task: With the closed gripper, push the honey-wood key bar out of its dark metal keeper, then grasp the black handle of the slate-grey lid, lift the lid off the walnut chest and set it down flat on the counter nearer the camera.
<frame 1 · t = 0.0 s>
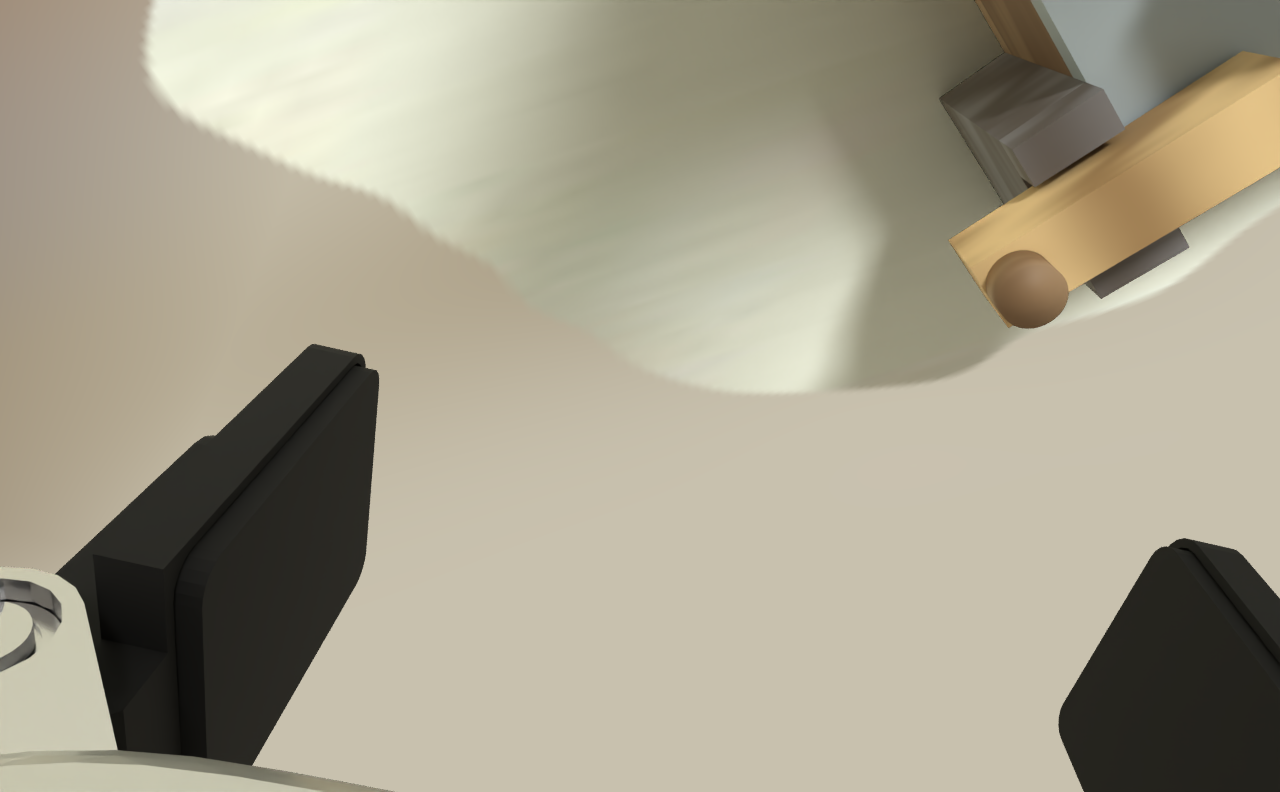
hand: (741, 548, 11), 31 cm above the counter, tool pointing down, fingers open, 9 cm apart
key: (1132, 199, 27), point 12 cm above the counter, slide at 0.0 cm
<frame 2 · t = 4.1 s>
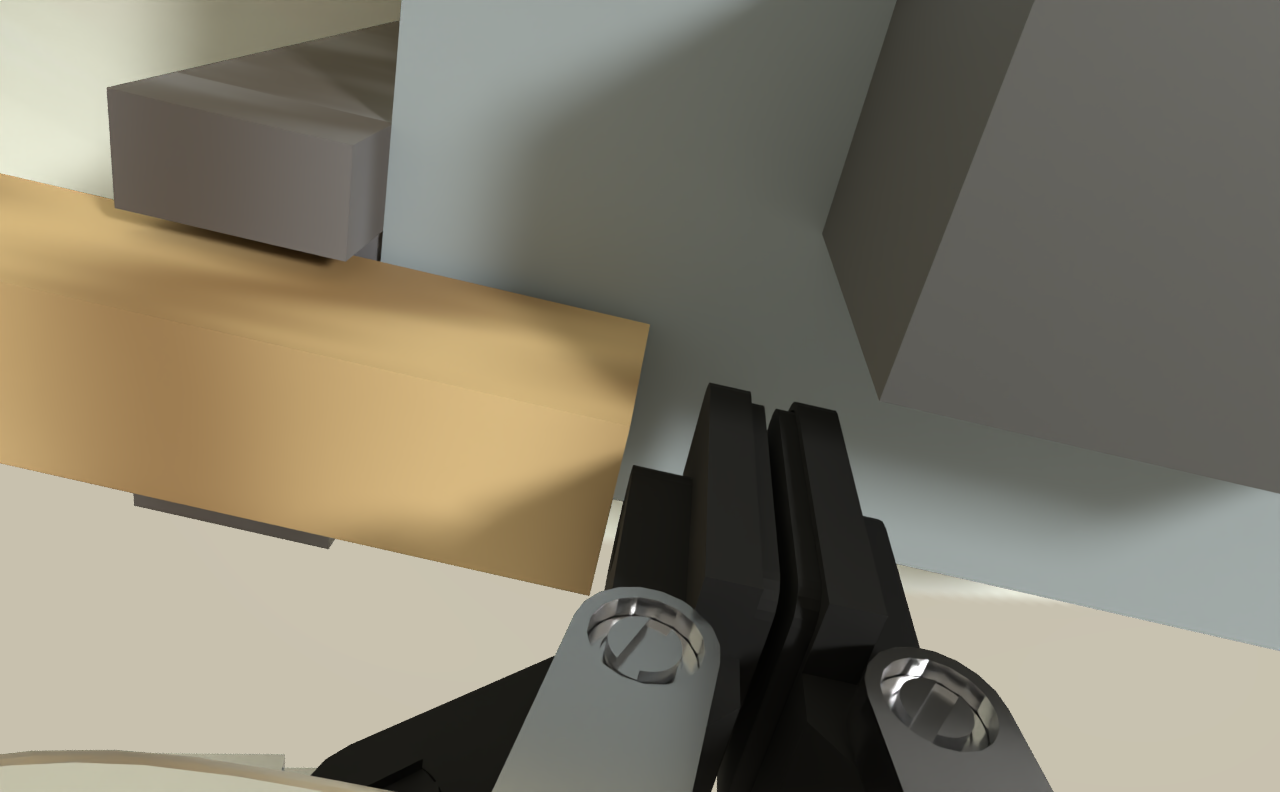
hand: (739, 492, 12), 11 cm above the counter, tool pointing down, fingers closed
chest: (1028, 78, 19), on the counter
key: (224, 392, 11), point 12 cm above the counter, slide at 0.0 cm, touching gripper
lid: (1172, 140, 13), point 7 cm above the counter, touching chest
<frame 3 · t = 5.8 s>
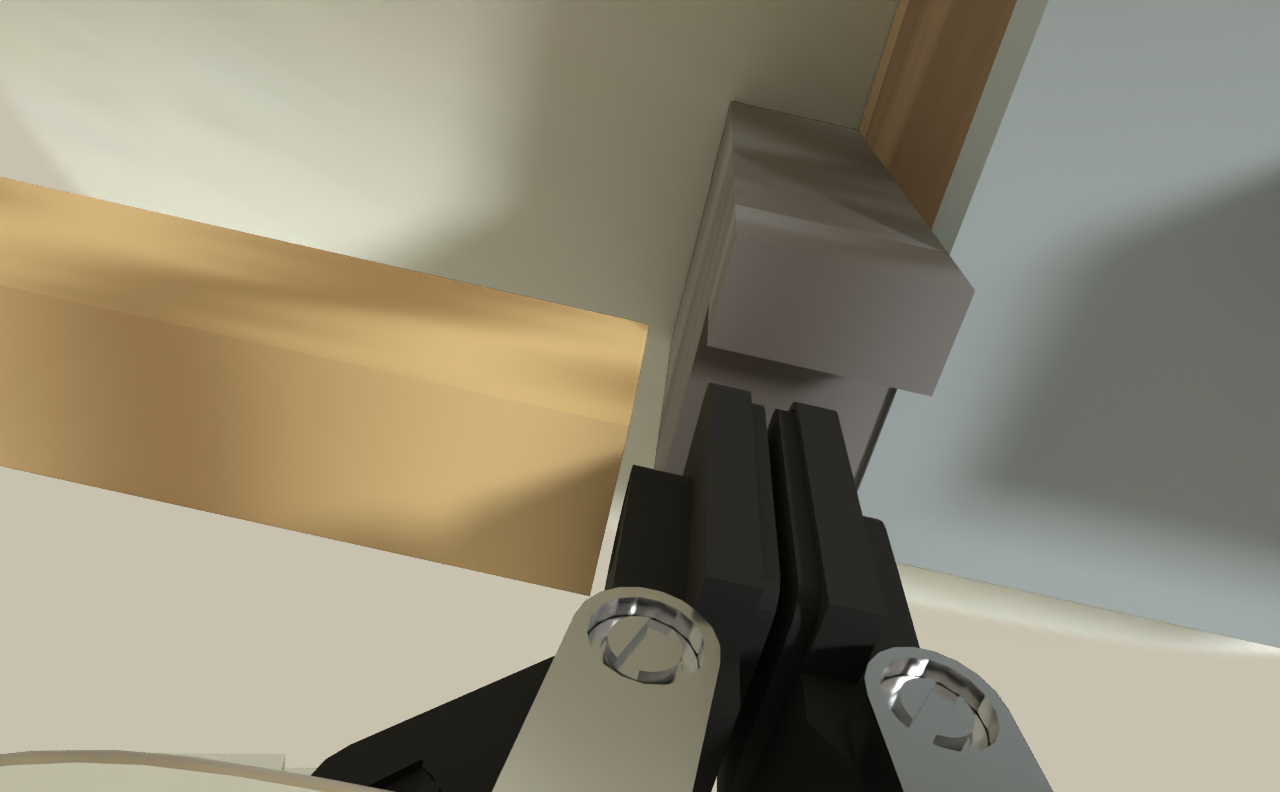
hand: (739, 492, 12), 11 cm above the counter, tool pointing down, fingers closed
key: (224, 394, 11), point 12 cm above the counter, slide at 7.8 cm, touching gripper
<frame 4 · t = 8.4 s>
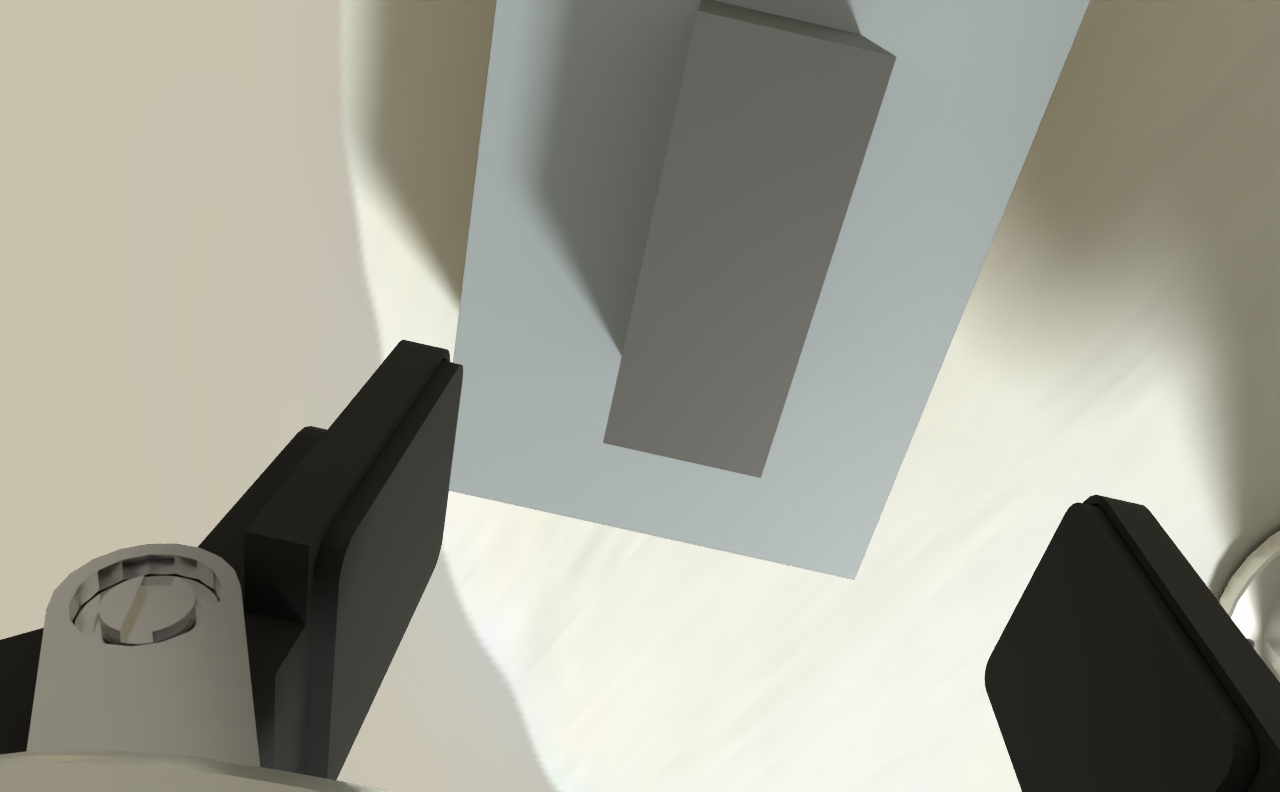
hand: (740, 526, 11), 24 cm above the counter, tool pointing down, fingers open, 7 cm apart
lid: (730, 192, 26), point 7 cm above the counter, touching chest
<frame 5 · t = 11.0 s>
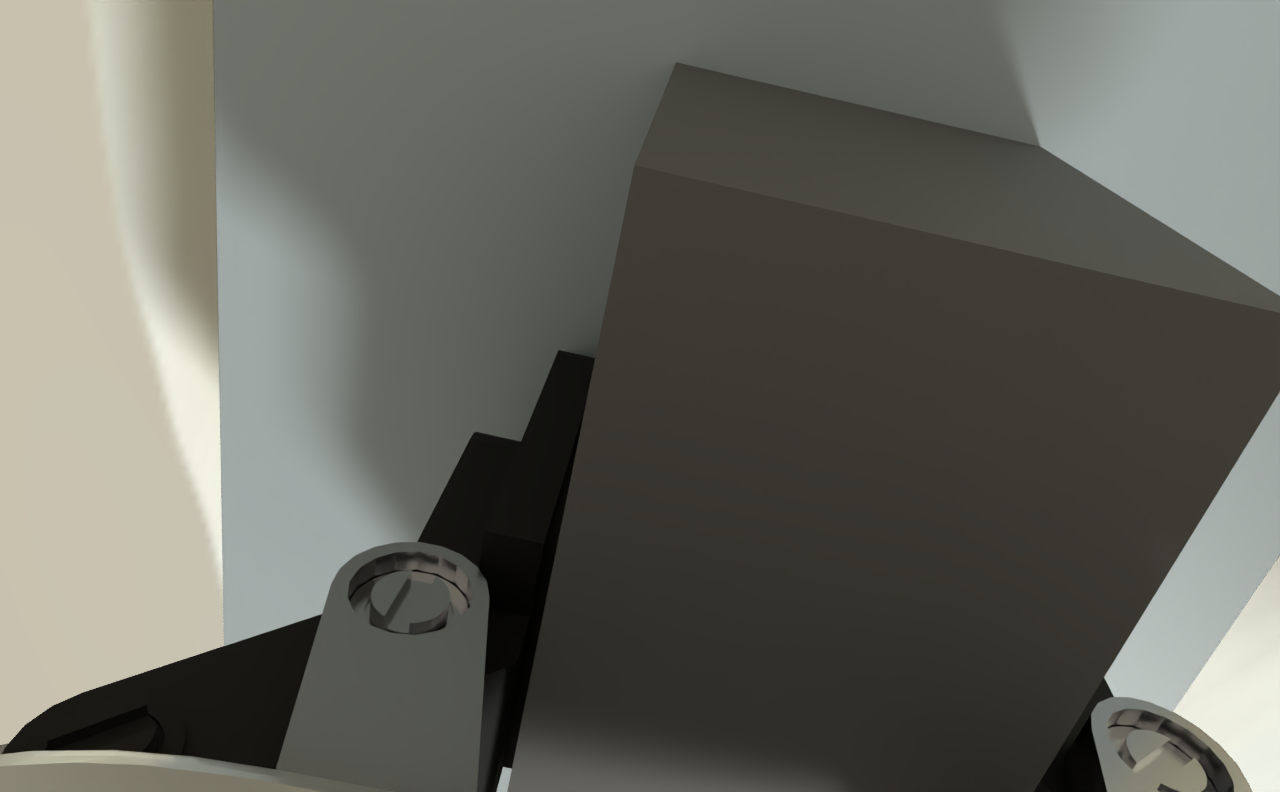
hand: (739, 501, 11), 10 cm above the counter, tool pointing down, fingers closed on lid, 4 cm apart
lid: (737, 410, 14), point 7 cm above the counter, touching chest, gripper
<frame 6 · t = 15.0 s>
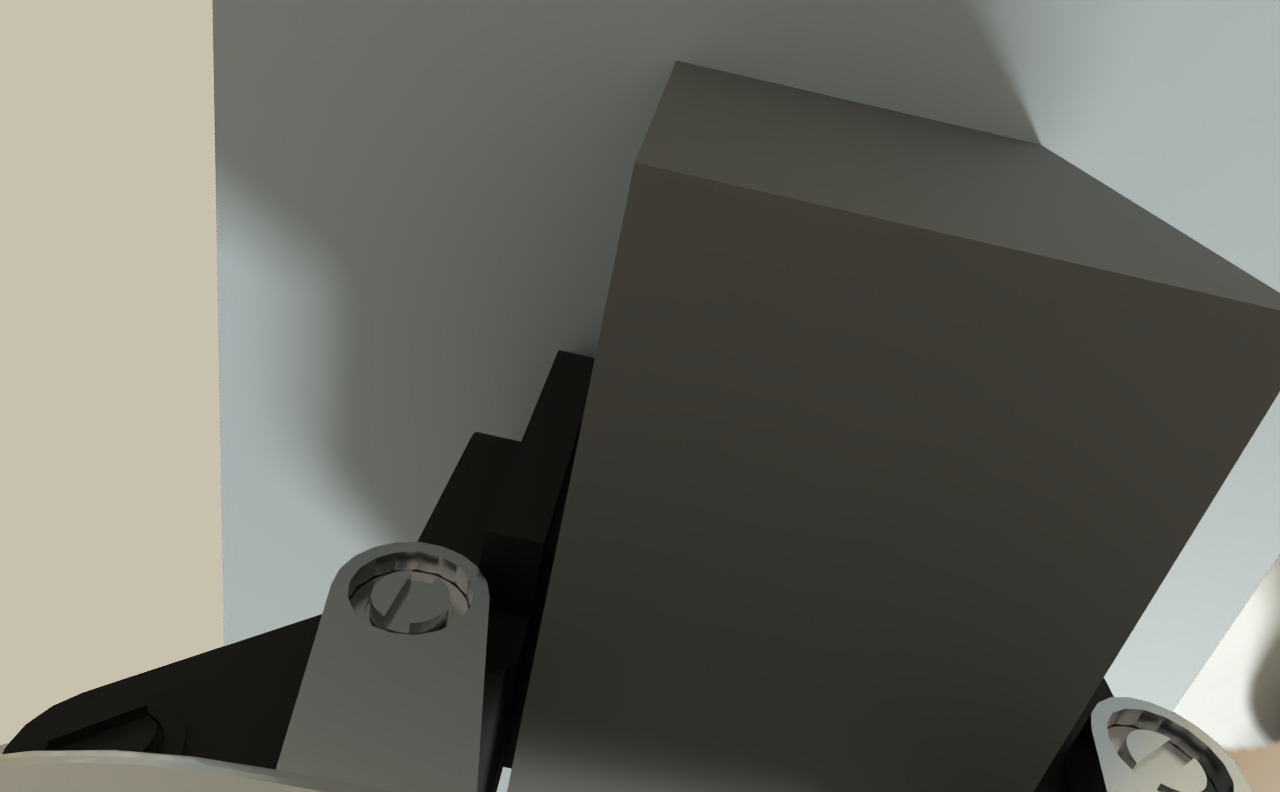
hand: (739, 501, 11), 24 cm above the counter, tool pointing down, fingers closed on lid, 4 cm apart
lid: (737, 409, 14), point 22 cm above the counter, touching gripper
when the fingers open (5 cm above the counter, at t = 19.2 s): lid drops 3 cm, on the counter.
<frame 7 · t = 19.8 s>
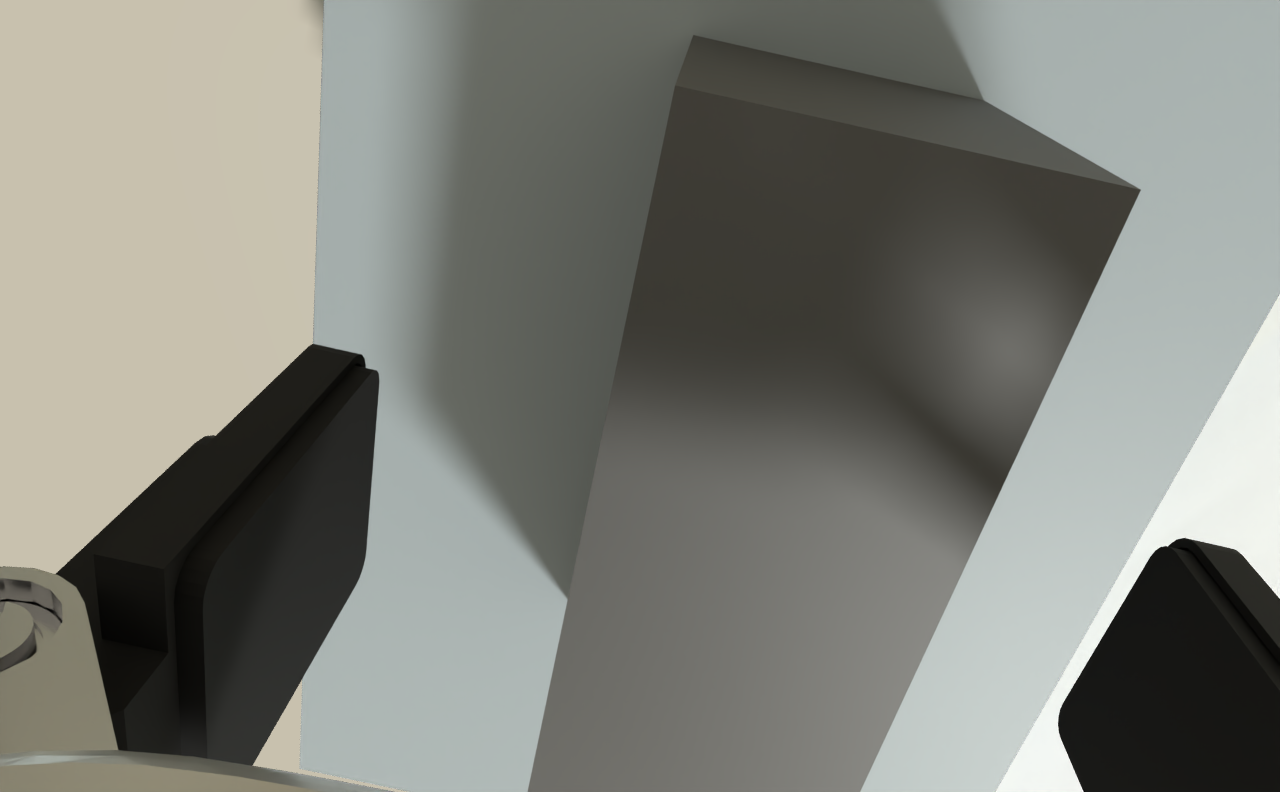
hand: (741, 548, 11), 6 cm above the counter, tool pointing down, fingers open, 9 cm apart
lid: (742, 339, 16), on the counter
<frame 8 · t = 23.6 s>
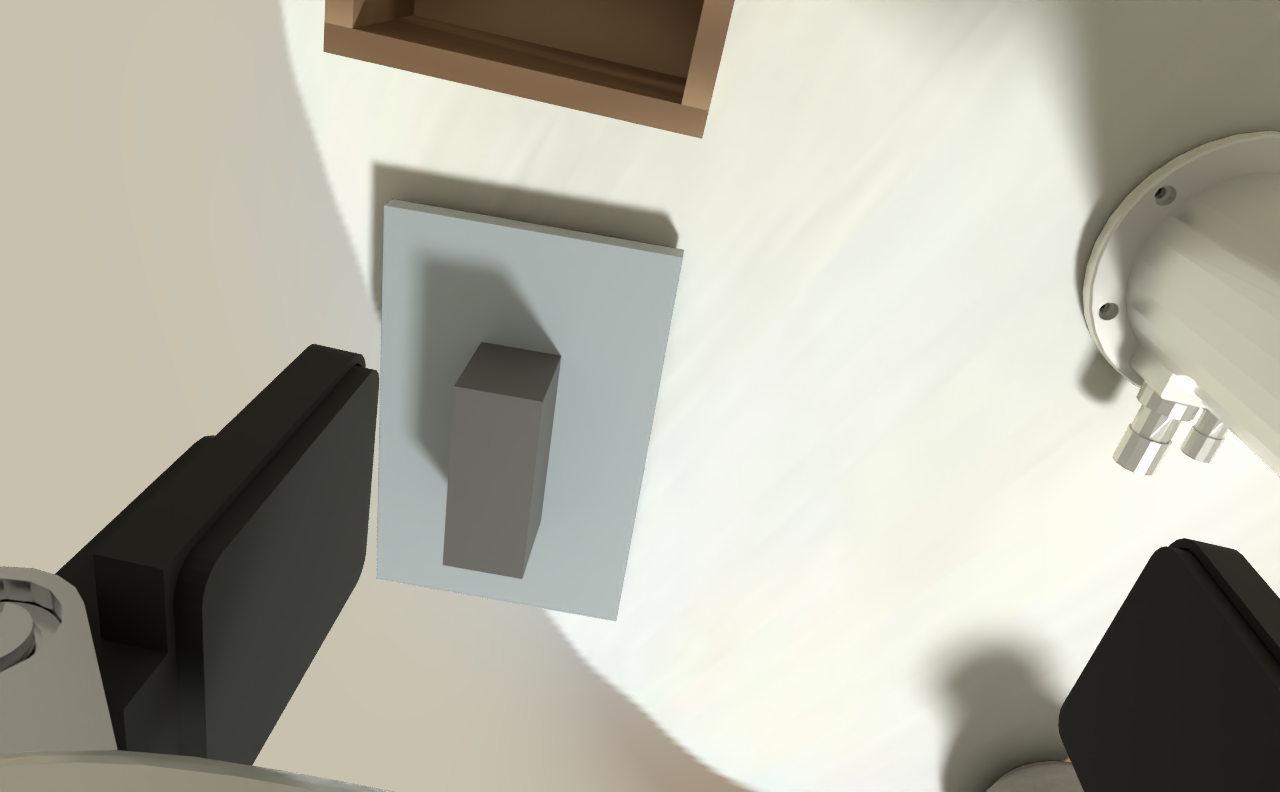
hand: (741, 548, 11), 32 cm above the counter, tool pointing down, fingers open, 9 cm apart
lid: (521, 416, 48), on the counter
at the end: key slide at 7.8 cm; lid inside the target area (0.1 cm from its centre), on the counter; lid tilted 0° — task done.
